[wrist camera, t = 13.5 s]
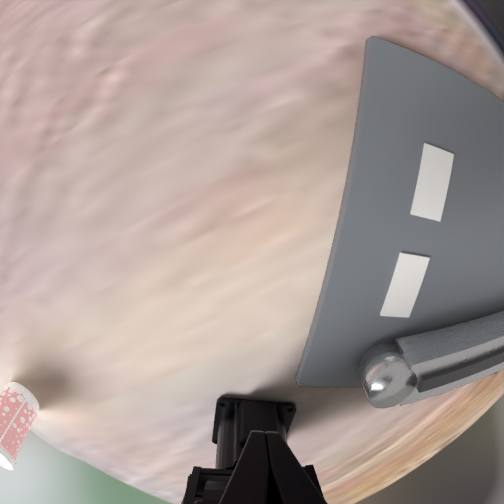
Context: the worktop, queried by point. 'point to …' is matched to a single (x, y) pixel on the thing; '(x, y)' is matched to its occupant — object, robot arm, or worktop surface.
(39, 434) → the worktop surface
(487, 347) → the bar
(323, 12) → the worktop surface
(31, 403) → the beverage cup
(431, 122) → the label board
